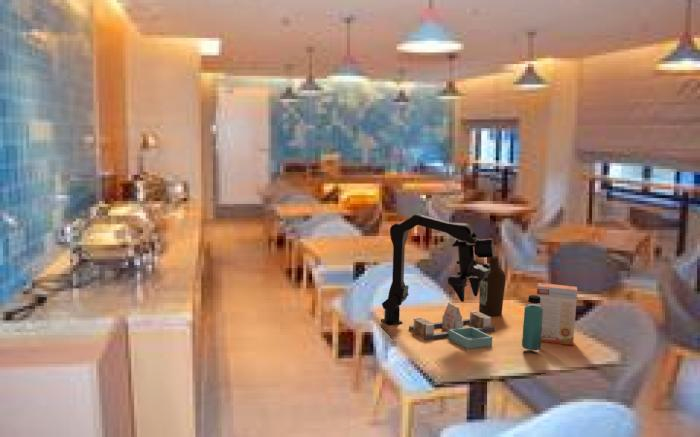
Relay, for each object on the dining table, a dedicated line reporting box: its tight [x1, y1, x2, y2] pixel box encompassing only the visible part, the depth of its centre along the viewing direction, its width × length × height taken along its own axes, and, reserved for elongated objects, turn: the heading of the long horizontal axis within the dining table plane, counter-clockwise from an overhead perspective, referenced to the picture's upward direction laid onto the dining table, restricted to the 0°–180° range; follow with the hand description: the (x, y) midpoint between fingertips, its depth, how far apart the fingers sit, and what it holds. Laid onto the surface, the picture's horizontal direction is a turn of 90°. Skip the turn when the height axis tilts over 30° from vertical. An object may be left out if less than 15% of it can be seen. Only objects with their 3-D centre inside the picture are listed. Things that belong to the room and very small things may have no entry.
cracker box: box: [535, 282, 578, 346], centre depth 233 cm, size 14×6×21 cm, turn 71°
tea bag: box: [442, 302, 463, 332], centre depth 242 cm, size 4×7×10 cm, turn 24°
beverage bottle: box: [521, 294, 543, 351], centre depth 221 cm, size 6×7×20 cm
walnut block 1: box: [413, 318, 434, 338], centre depth 236 cm, size 6×4×5 cm, turn 26°
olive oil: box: [478, 254, 507, 317], centre depth 266 cm, size 11×11×25 cm
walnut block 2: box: [470, 311, 490, 328], centre depth 248 cm, size 6×4×5 cm, turn 26°
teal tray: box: [447, 326, 493, 351], centre depth 229 cm, size 12×10×4 cm
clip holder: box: [408, 310, 496, 341], centre depth 242 cm, size 13×31×5 cm, turn 116°
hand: (469, 298), depth 237 cm, fingers open, 9 cm apart
